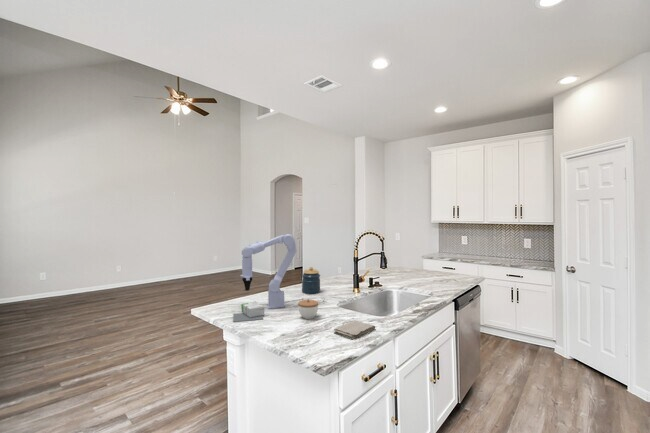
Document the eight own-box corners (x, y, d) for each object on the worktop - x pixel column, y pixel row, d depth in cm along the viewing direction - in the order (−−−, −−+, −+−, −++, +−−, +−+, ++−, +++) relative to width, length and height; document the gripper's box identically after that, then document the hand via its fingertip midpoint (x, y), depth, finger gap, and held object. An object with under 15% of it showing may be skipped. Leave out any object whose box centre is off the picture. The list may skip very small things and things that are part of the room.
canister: (320, 294, 213) (320, 268, 213) (301, 294, 213) (301, 268, 213) (320, 289, 226) (320, 265, 226) (302, 289, 226) (302, 265, 226)
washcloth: (332, 334, 144) (332, 327, 144) (355, 324, 157) (355, 318, 157) (353, 341, 136) (353, 334, 136) (375, 330, 149) (375, 323, 149)
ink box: (241, 312, 173) (249, 318, 163) (241, 303, 173) (249, 308, 163) (255, 309, 178) (264, 315, 168) (255, 300, 178) (264, 305, 168)
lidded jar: (309, 312, 174) (309, 295, 174) (322, 317, 167) (322, 299, 166) (294, 316, 167) (294, 299, 167) (307, 321, 159) (307, 303, 159)
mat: (261, 312, 174) (261, 311, 174) (263, 319, 162) (263, 318, 162) (233, 314, 170) (233, 313, 170) (233, 322, 158) (233, 321, 158)
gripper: (239, 265, 189) (239, 287, 189) (240, 269, 175) (240, 293, 176) (251, 265, 191) (251, 287, 191) (253, 269, 177) (253, 292, 178)
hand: (247, 290), depth 184 cm, fingers closed
